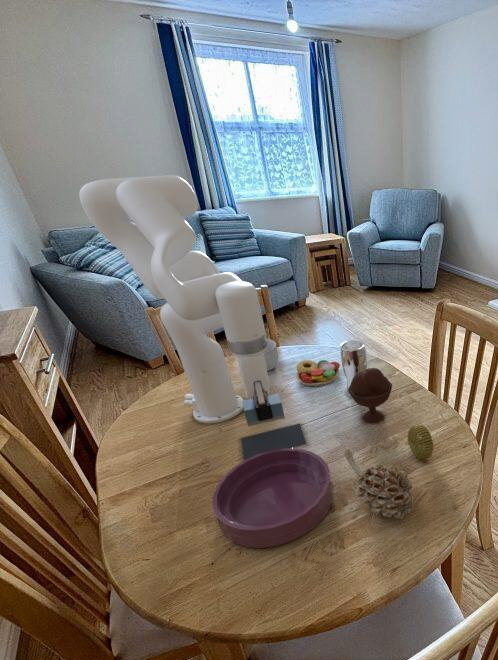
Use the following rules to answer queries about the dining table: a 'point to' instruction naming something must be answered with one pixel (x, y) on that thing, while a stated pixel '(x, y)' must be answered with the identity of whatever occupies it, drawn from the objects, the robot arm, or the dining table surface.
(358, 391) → the ice cream bowl
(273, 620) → the dining table surface
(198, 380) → the robot arm
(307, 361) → the toy food set
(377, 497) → the pine cone
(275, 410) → the block
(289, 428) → the rubber mat
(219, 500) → the serving bowl
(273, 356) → the teacup
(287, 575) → the dining table surface
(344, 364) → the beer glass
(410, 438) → the sculpture
